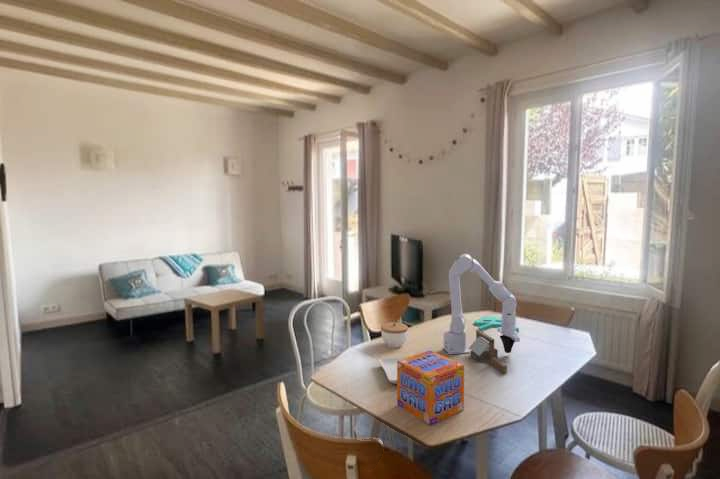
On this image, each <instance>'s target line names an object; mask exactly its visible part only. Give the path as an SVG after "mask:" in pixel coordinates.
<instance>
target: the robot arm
mask: <svg viewBox="0 0 720 479" xmlns="http://www.w3.org/2000/svg"><path fill="white" fill-rule="evenodd" d="M468 270H469V272H471V273H475V274H477V275H478V276H479V277H480V278H481V279H482V280H483V281H484V282H485V283H486V284H487V286H488V290H489V292H490V293H491V294H492V295H493V296H494V297H495V298H496V299H497V300H498V301H499V302H501V305H502V311H501V318H502V327H497V332H499V333H500V334H501V335H499V338H500V340H501V342H502V345H503V346H502V347H503V349H504V352H505V353H506V354H510V353H511V352H512V350H513V347H514V344H515V343H520V340H521V339H520V336H519V335H518V333H519V332H517V331H515V327H517V326H516V320H517V319H516V318H517V317H516V316H517V312H516V309H517V306H518V303H517V299H516V297H515V296H514V294H513V293H512V292H511V291H509V290H508V289H507V288H506V287H505V284H504V282H500V281H499V280H495V279H493V277H492V276H491V275H490V274H489V273H488V272H487V270H486V269H485V268H484V267H483V266H482V265H481V263H479V262H478V260H476V259H475V258H473V256H471V255H470V254H469V253H462V254H461V255H459V256H458V257H457V258H456V259H455V261H454V263H453V264H452V265H451V267H450V269H449V271H448V285H449V295H450V307H451V322H450V324H449V331H445V332H444V334H443V347H442V349H443V350H445V352H447V353H448V354H449V355H458V354H468V353H470V350H468V349H467V344H466V343H467V331H466V329H465V328H466V326H465V325H466V319H465V316H464V314H463V313H464V312H463V307H462V306H463V305H462V295H461V294H462V293H461V282H460V281H461V280H460V276H462V274H463V273H465V272H467V271H468Z"/></svg>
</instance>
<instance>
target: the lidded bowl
mask: <svg viewBox="0 0 720 479" xmlns="http://www.w3.org/2000/svg"><path fill="white" fill-rule="evenodd" d="M380 329H381V331H380V332H381V333H380V334H381V338H382V341H383V342H384V343H385V345H386V347H388V348H393V349H398V348H402V347H403V345H404V344H405V343H406V341H407V338H408V333H409V332H408V329H409V327H408V325H406V324H404V323H401V322H395V321H394V322H385V323H384V324H382V325H381V327H380Z"/></svg>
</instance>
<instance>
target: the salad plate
mask: <svg viewBox="0 0 720 479" xmlns="http://www.w3.org/2000/svg"><path fill="white" fill-rule="evenodd" d="M408 357H409V356H400V357H399V356H397V357H385V358H379V359H377V362H378V364H379V365H380V366H381V368H382V369H383V370H384V373H385V375H386V377H387V379H388V381H389V383H392V384H395V385H397V361H398V360H402V359H405V358H408Z"/></svg>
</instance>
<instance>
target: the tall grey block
mask: <svg viewBox="0 0 720 479" xmlns="http://www.w3.org/2000/svg"><path fill="white" fill-rule="evenodd" d="M498 353H499V351H498V349H496V348H495V347H494V357H495V358H497V359H498V356H499V355H498ZM469 355H470V358H472V359H473V360H474V361H475V362H481V361H482V362H483V361H489V346H488V347H487V348H486V350H485V351H484V352H483V353H482V354H481V355H480V356H478V355H477V354H476V353H474V352H473V351H472V350H471V351H470V354H469Z"/></svg>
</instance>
